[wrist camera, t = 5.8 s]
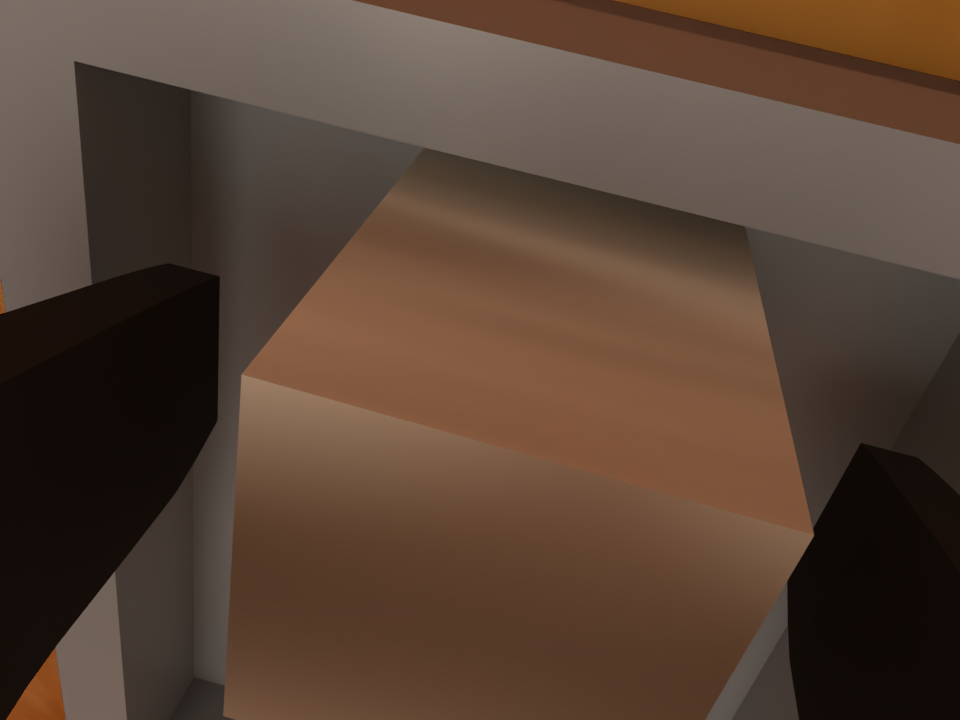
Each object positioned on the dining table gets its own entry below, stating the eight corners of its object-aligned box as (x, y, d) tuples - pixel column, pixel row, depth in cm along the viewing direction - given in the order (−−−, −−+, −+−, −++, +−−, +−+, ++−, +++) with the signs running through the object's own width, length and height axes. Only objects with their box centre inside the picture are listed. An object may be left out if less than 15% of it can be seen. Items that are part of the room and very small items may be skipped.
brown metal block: (644, 449, 13) (633, 841, 8) (394, 379, 13) (223, 716, 8) (741, 210, 11) (814, 536, 6) (438, 130, 11) (242, 374, 6)
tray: (710, 816, 19) (719, 994, 16) (165, 658, 19) (77, 801, 17) (1145, 125, 10) (1345, 234, 7) (139, -110, 11) (-55, -97, 8)
